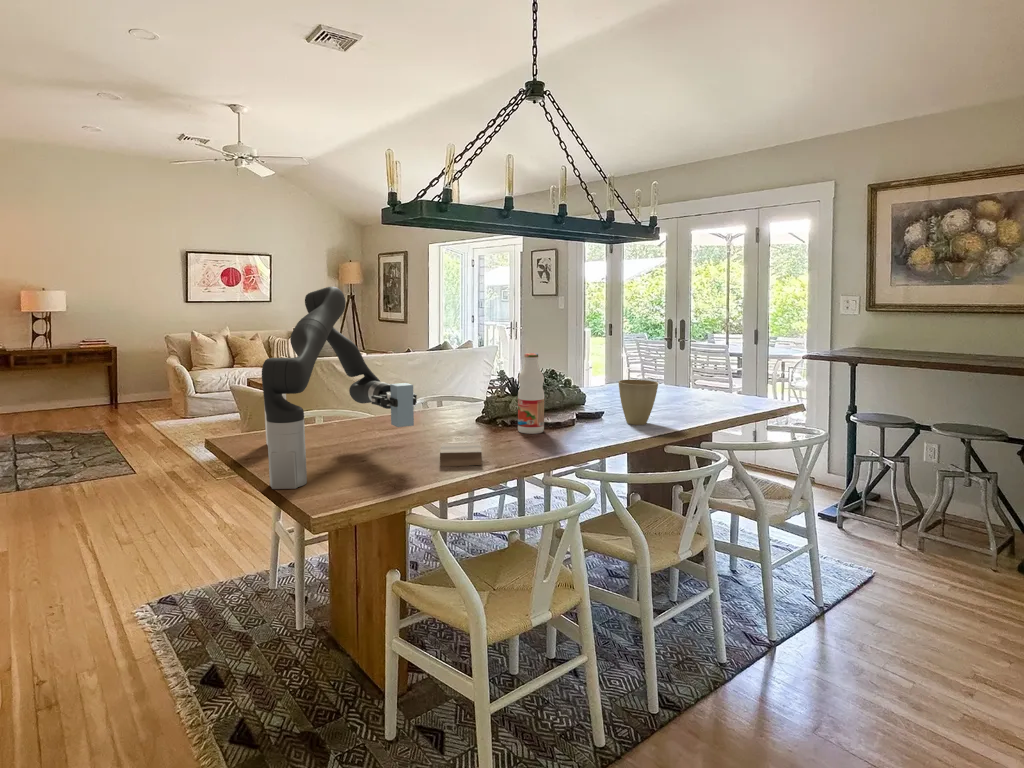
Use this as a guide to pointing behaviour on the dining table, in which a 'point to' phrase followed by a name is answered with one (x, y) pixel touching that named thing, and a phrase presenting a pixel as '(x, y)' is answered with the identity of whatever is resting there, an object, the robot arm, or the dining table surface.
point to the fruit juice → (531, 397)
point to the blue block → (402, 405)
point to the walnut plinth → (460, 454)
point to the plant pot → (637, 399)
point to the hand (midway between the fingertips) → (405, 402)
